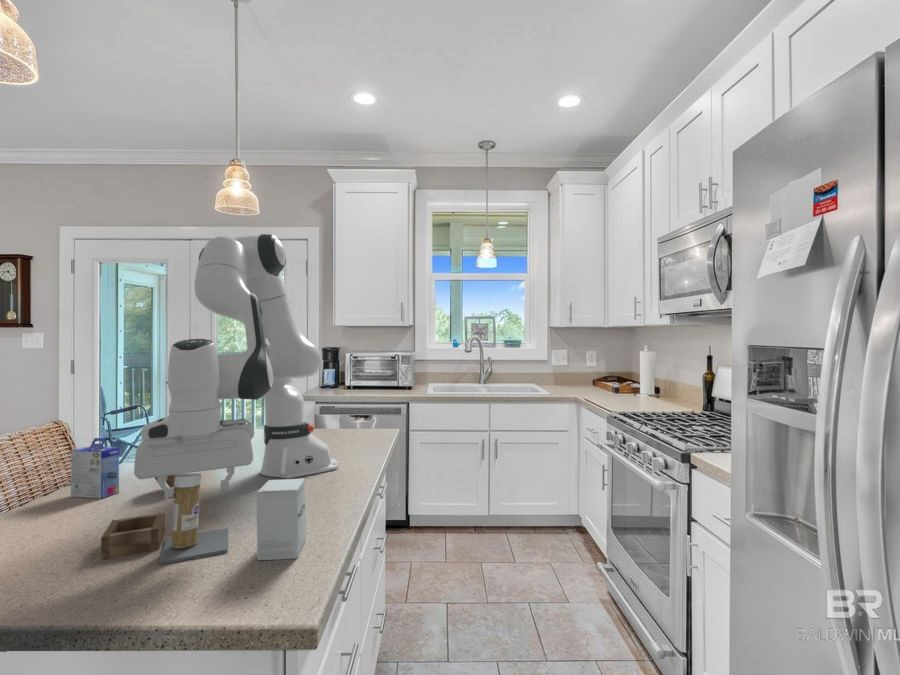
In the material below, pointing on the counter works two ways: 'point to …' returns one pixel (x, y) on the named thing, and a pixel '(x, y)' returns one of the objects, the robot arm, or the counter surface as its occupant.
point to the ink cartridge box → (95, 471)
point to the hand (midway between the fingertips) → (198, 493)
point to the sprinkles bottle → (186, 510)
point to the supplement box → (281, 519)
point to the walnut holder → (133, 535)
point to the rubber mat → (197, 547)
